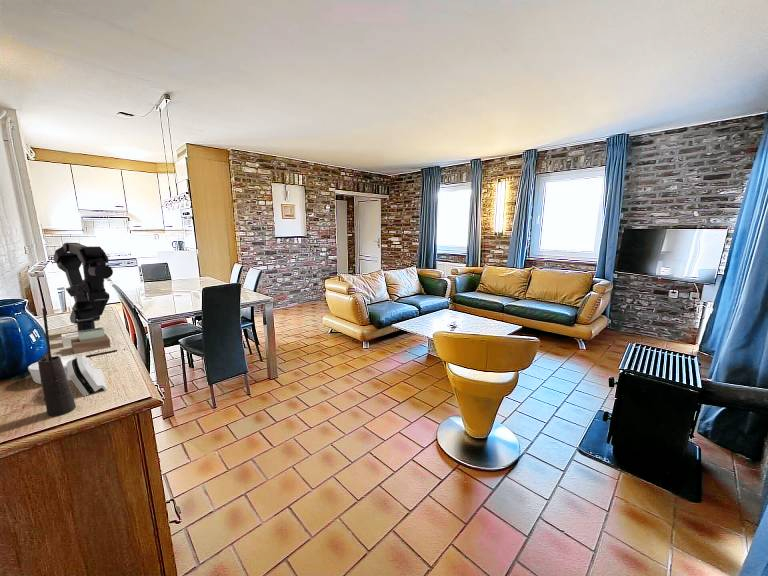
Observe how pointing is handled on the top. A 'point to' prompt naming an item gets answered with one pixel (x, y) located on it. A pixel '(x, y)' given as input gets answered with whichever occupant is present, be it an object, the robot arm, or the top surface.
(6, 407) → the top surface
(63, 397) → the butter churn
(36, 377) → the ramekin
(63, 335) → the holder
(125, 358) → the top surface
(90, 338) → the pale grey block
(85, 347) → the channel mount plate
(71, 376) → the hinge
